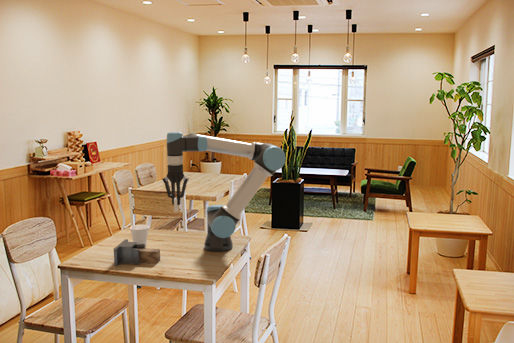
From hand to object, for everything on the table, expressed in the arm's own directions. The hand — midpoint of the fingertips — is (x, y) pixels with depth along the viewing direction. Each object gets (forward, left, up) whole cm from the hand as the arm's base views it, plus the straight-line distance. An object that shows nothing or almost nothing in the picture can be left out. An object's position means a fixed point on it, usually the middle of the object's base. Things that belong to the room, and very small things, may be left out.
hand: (176, 211), depth 250 cm
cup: (+25, -16, -25) cm, 39 cm away
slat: (+17, +5, -25) cm, 30 cm away
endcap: (+22, +6, -24) cm, 33 cm away
